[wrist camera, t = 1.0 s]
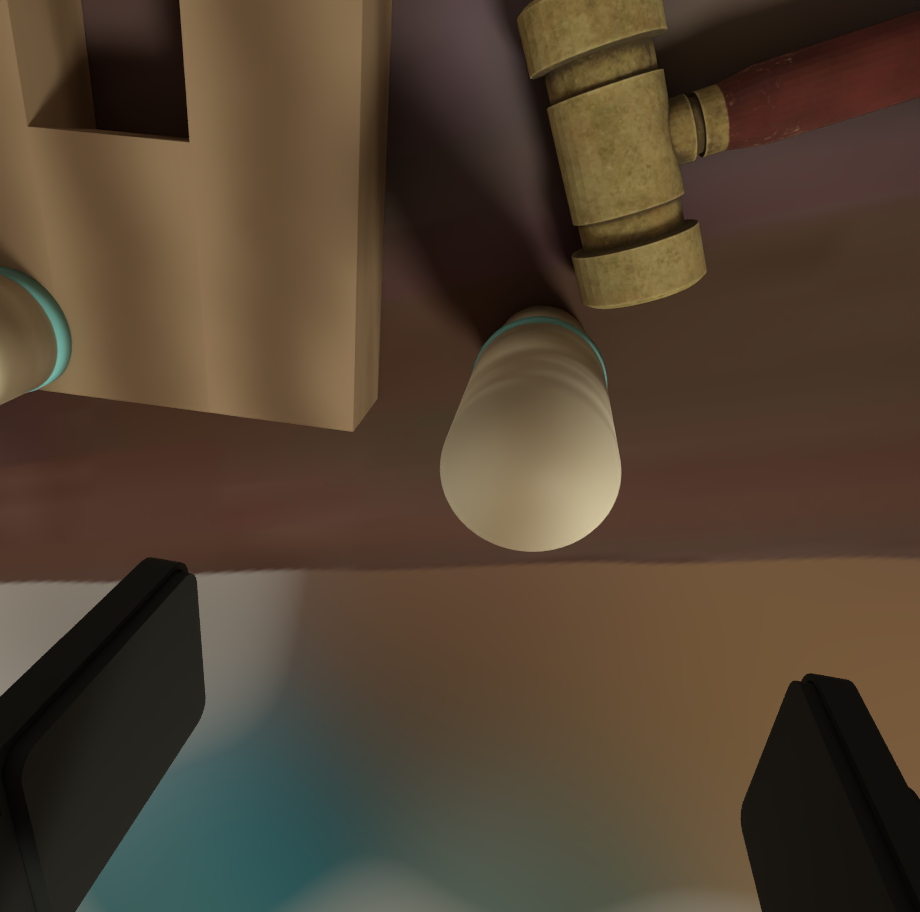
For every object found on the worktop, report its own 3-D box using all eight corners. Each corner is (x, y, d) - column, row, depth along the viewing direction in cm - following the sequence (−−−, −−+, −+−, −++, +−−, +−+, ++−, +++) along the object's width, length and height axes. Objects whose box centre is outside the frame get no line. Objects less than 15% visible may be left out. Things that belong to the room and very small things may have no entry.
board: (401, -254, 22) (243, -647, 11) (377, 398, 31) (277, 533, 20) (-117, -277, 23) (-703, -641, 13) (5, 350, 33) (-272, 452, 22)
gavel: (1343, -306, 17) (1286, 127, 20) (1178, -212, 21) (1155, 133, 25) (515, -1, 21) (589, 319, 24) (515, 26, 25) (578, 296, 28)
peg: (609, 301, 28) (639, 399, 17) (590, 413, 30) (605, 565, 19) (490, 287, 28) (445, 375, 18) (478, 399, 30) (432, 539, 20)
